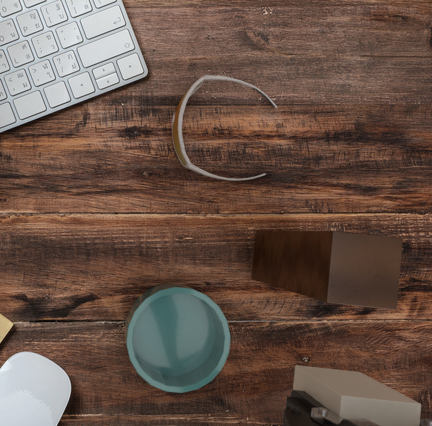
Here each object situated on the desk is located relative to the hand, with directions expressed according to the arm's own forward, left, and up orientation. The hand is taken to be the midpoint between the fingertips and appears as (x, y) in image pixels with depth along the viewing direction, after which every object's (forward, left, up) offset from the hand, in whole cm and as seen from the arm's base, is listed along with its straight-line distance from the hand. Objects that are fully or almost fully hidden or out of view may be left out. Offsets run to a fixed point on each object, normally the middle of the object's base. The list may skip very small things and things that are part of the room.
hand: (334, 410), depth 31 cm
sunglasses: (+26, 0, -37) cm, 45 cm away
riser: (+9, -10, -37) cm, 39 cm away
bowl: (-3, +4, -37) cm, 37 cm away
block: (0, 0, -1) cm, 1 cm away
